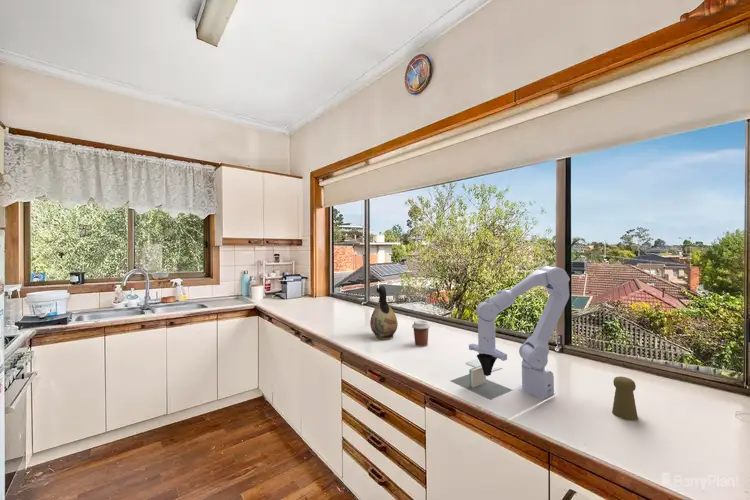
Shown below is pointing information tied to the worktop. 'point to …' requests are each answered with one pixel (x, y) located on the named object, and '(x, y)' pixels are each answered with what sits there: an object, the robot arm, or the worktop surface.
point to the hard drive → (477, 363)
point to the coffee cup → (421, 333)
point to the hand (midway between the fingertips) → (487, 374)
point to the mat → (482, 387)
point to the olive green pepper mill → (624, 399)
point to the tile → (476, 376)
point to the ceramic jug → (383, 318)
